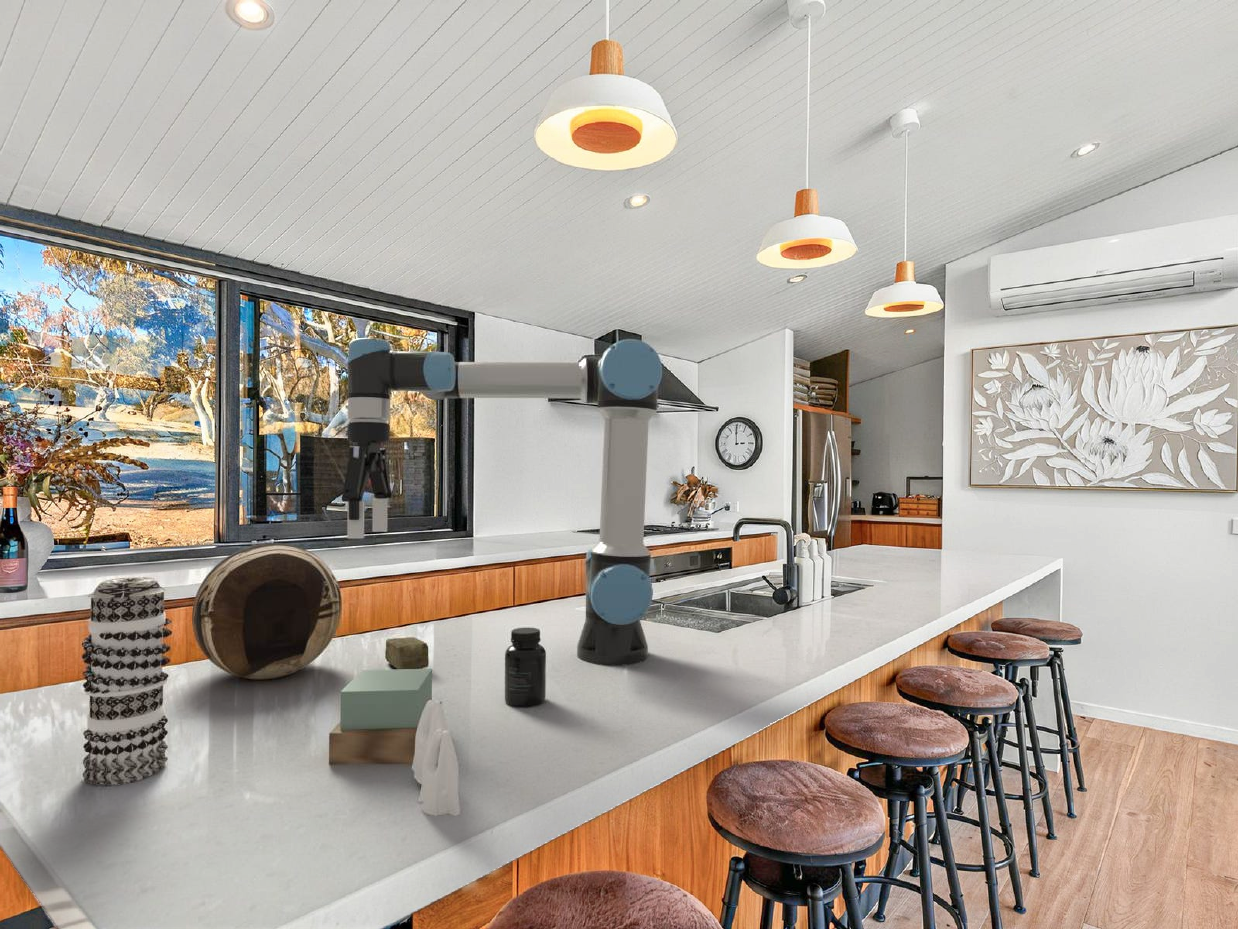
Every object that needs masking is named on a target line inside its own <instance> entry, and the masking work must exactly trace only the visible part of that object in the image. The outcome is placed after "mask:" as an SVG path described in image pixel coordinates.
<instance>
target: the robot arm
mask: <svg viewBox="0 0 1238 929" xmlns="http://www.w3.org/2000/svg"><path fill="white" fill-rule="evenodd" d="M347 352H348V354H347V356H348V357H347V362H346V366H347V404H345V406H344V407H345V409H346V410H347V419H348V420H350V421H351V422H349V423H348V424H347V436H346V438H347V442H349V443H351V444H356V446H354V445H353V446H349V451H348V452H349V453H348V454H349V455H348V461H347V467H346V471H345V472H346V474H345V478H344V483H343V489H342V496H341V502H345V503H347V504H346V505H347V508H346V511H347V513H346V514H347V526H346V527H347V528H346V529H347V530H346V531H347V534H346V538H347V539H350V540H351V539H354V540H355V539H365V501H363V498H364V494H365V491H366V487H367V483H368V480H369V481H370V486H371V488H372V492H373V497H374V498H372V517H371V518H372V530H371V531H372V532H373V533H375V532H376V533H377V532H378V533H379V532H381V533H382V532H383V533H386V532H388V499H392V498H393V493H392V488H391V481H390V475H389V474H390V472H389V468H388V461H387V449H386V448H381V444H388V443H390V439H391V426H390V424H389V423H388V422H389V421H390V420H391V391H394V392H419V393H420V394H421V395H423V396H424V397H425V398H428V399H429V400H432V401H442V400H445V399H580V400H581V401H582V402H583V403H584V404H597V407H596V408H597V412H599V414H600V415H601V416H602V417H603V420H604V427H603V428H604V430H603V447H602V448H603V450H602V471H601V474H602V475H601V497H600V498H601V499H600V516H599V517H600V518H599V519H600V520H599V523H600V524H599V539H598V540H599V541H598V543H597V544H596V545H594V547H593V548H590V549H589V550H588V551H587V552H586V557H585V560H584V565H585V621H584V624H583V627H582V630H581V633H580V636H579V638H578V641H577V642H578V643H577V650H576V652H577V653H576V657H577V658H578V659H579V660H581V661H583V662H586V663H588V664H589V663H590V664H594V665H600V664H602V665H603V666H624V665H623V664H627V665H633V663H634V664H638V663H641V662H643V661H645V660H647V659H648V656H649V645H648V642H647V639H646V636H645V632H644V630H643V627H642V623H641V619H642V617H644V616H645V614H646V613H647V612H648V611H649V609H650V607H651V605H652V602H653V596H654V588H653V584H652V581H651V579H650V577H651V556H652V555H651V554H652V553H651V551H650V550H649V549H648V548H647V547H646V545H645V543H644V537H645V536H644V534H645V514H646V511H645V510H646V509H645V508H646V492H647V491H646V489H647V468H648V467H647V464H648V443H649V441H648V440H649V422H650V419H652V418H653V417H654V416H655V415H656V414H657V411H658V394H659V393H658V391H659V385H660V383H661V381H662V377H663V364H662V361H661V359H660V356H659V354H658V353H657V350H655V349H654V348H653V347H652V346H651V345H650V344H649V343H647V342H645V341H642V340H641V339H633V338H626V339H622V340H619V341H616V342H615V343H613V344H611V345H610V346H609V347H608V348H606V350H604V352H603V354H602V355H601V356H598V357H584V358H583V359H582V360H580V361H579V362H548V361H547V362H545V361H543V362H542V361H541V362H540V361H539V362H535V361H534V362H531V361H530V362H525V361H524V362H519V361H518V362H517V361H516V362H512V361H510V362H507V361H506V362H504V361H503V362H501V361H494V362H493V361H491V362H490V361H489V362H488V361H479V362H478V361H455V356H454V355H453V354H452V353H451V352H445V351H444V352H443V351H438V350H437V351H436V350H432V351H407V350H406V351H397V350H392V349H391V344H390V342H389V341H387V340H385V339H383V338H381V339H380V338H373V337H360V338H355V339H352V340H351V341H350V342H349V344H348V351H347ZM646 658H647V659H646ZM640 661H641V662H640ZM637 662H638V663H637Z"/></svg>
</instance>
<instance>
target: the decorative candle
mask: <svg viewBox="0 0 1238 929" xmlns="http://www.w3.org/2000/svg"><path fill="white" fill-rule="evenodd" d="M165 591H167V588H166V587H162V586H161V585H160V584H159V582H158V581H157V580H156V579H154V578H153V577H146V576H135V577H120V578H119V577H118V578H112V579H108V580H105V581H104V580H103V581H101V583H99V584H98V585H97V586H96V588H95V589H94V591H93V592H91V593H89V594H87V595H86V596H87V597H88V598H90V608H89V609H90V618H89V619H88V626H87V627H88V632H89V633H90V635H88V636H86V637H85V638H84V640H83V641H82V642H81V646H82V647H83V650H84V653H82V654H81V659H82V662H83V663H84V664H87V666H86V668H85V670H83V671H82V675H83V677H84V680H85V682H83V684H82V687H83V688H84V693H85V695H87V696H89V702H88V704H89V706H88V707H89V713H88V714H87V720H86V721H87V722H86V724H87V726H86V727H87V729H85V730H84V731H83V736H84V739H85V740H87V742H85V743H84V744H83V745H82V746H83V748H84V752H85V753H88V754H87V755H86V756H85V757H84V758H83V759H82V764H83V768H84V769H85V770H83V772H82V777H83V780H84V781H85V782H86V784H87V783H88V784H90V783H91V784H92V785H95V786H96V785H98V786H101V785H100V784H104V785H103V786H105V785H106V787H109V786H108V785H110V786H112V785H111V784H115V785H118V784H121V785H123V783H124V784H126V783H125V782H128V783H134V781H135V782H136V780H137V781H139V780H142V779H146V778H148V777H150V776H152V775H155V774H157V772H158V771H160V770H161V769H162V768H163V767H164V766H165V765H166V762H168V756H166V750H168V748H169V746H168V744H167V742H166V740H164V739H165V737H166V736H167V735H168V733H169V732H168V730H166V728H165V726H166V724H167V723H168V721H169V719H168V718H167V717H166V715H165V714H166V712H165V702H164V685H165V684H166V683H167V682H168V678H169V674H168V673H166V672H164V670H163V667H166V665H167V664H169V663H171V659H170V658H169V657H167V656H166V655H165V654H166V653H167V652H169V651H170V650H171V646H170V645H167V644H165V642H164V643H163V639H167V638H168V637H170V636H171V635H172V634H173V631H172V630H171V629H168V628H167V626H168V625H169V624H171V623H172V620H171V619H169V618H167V616H166V613H167V612H165ZM130 781H131V782H130Z"/></svg>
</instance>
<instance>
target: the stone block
mask: <svg viewBox="0 0 1238 929" xmlns="http://www.w3.org/2000/svg"><path fill="white" fill-rule="evenodd" d="M384 657H385V658H384V659H385V660H386V662H387V663H388V664H390V666H393V667H394V668H395V669H424V668H428V667H429V664H430V660H429V646H428V643H427V642H424V641H423V640H420V639H418V638H416V637H415V636H414V637H411V636H409V637H399V638H398V637H397V638H387V639H386V641H385V652H384Z"/></svg>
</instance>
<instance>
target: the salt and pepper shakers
mask: <svg viewBox="0 0 1238 929" xmlns="http://www.w3.org/2000/svg"><path fill="white" fill-rule="evenodd" d="M440 702H441V701H438V700H435V701H434V700H433V699H432V700H429V701H428V702H427V704H426V705H425V708H424V710H423V712H422V715H421V718H420V721H419V724H418V728H417V732H416V737H415V754H414V759H413V764H411V765H412V766H411V770H412V771H413V778H414V779H415V780H416V782H417V783H418V784H420V785H421V787H420V793H419V796H418V803H420V808H421V809H420V810H421V812H423V813H425V814H427V815H430V816H434V817H438V816H442V815H446V814H450V815H452V816H454V817H455V816H459V815H460V814H461V809H460V798H459V762H458V757H457V753H456V750H455V746H454V741H453V738H452V734H451V733H450V731H449V728H448V725H447V724H448V723H447V720H446V717H445V712H444V709H443V705H441V703H440Z"/></svg>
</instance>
